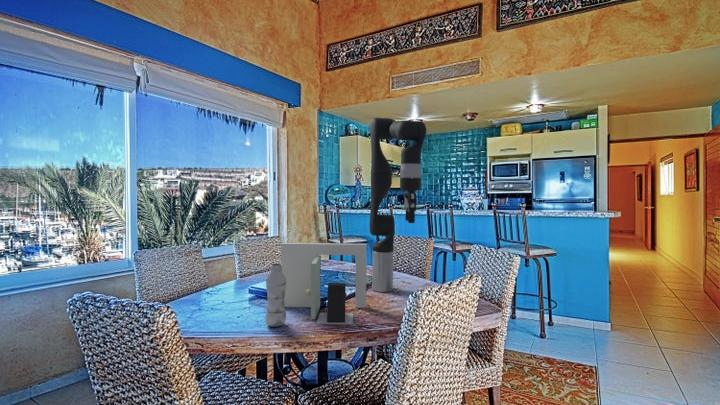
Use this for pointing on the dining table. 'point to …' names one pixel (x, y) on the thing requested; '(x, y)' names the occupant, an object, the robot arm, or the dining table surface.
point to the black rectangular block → (336, 302)
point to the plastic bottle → (276, 296)
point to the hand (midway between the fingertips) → (409, 221)
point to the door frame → (318, 275)
